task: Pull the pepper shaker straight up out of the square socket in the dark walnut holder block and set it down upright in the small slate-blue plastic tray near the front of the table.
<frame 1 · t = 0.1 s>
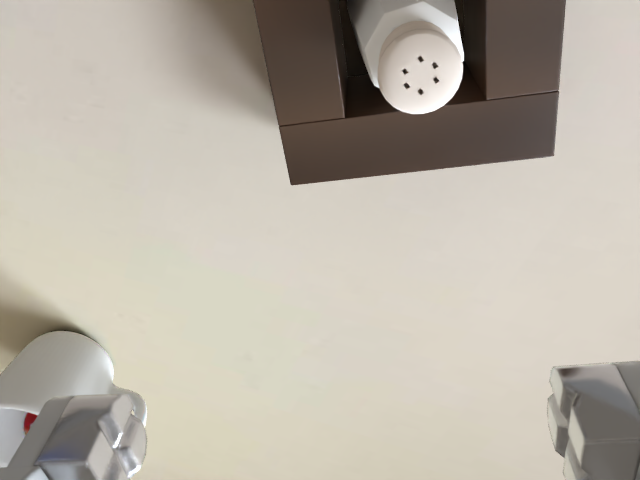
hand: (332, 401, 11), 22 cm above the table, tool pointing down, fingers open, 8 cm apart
pepper shaker: (400, 7, 28), resting in holder
cup: (95, 358, 43), on the table
holder: (400, 8, 27), on the table
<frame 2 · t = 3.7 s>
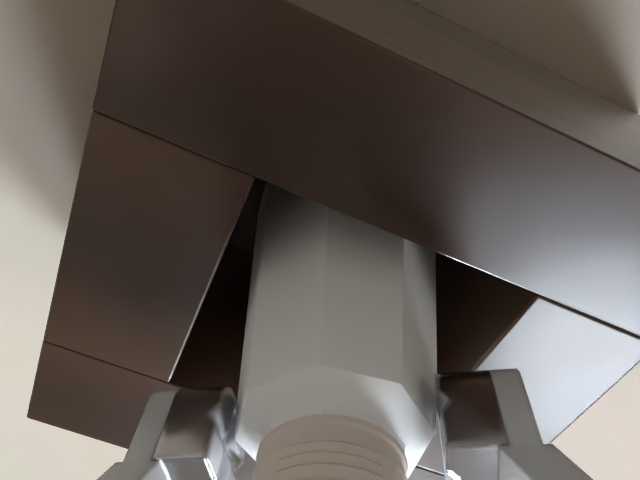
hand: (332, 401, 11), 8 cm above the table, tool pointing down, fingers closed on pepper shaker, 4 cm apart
pepper shaker: (344, 203, 17), resting in holder, touching gripper
holder: (344, 205, 17), on the table
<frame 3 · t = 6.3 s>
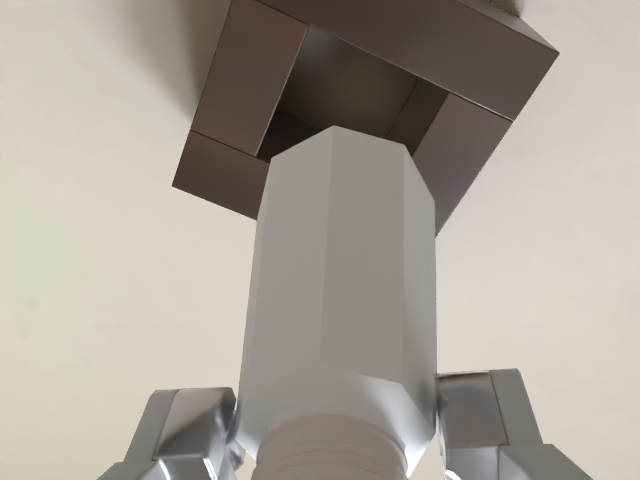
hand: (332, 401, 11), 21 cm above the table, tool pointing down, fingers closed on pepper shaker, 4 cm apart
pepper shaker: (344, 203, 17), point 13 cm above the table, touching gripper
holder: (350, 81, 28), on the table
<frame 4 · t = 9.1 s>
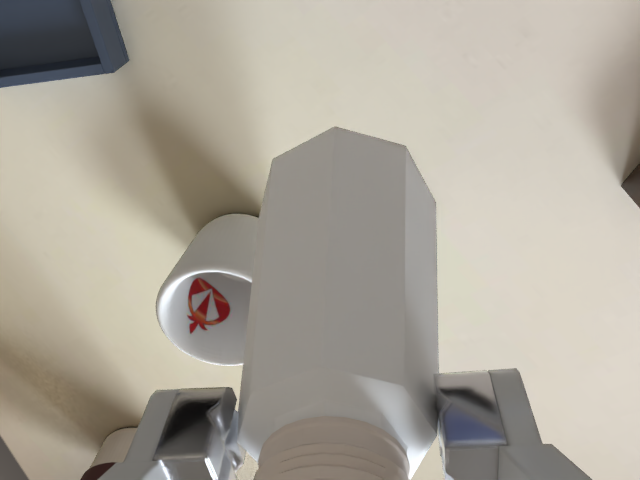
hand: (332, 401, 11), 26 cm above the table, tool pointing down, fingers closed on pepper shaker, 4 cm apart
pepper shaker: (345, 204, 17), point 18 cm above the table, touching gripper
cup: (257, 257, 41), on the table
coffee cup: (143, 448, 54), on the table
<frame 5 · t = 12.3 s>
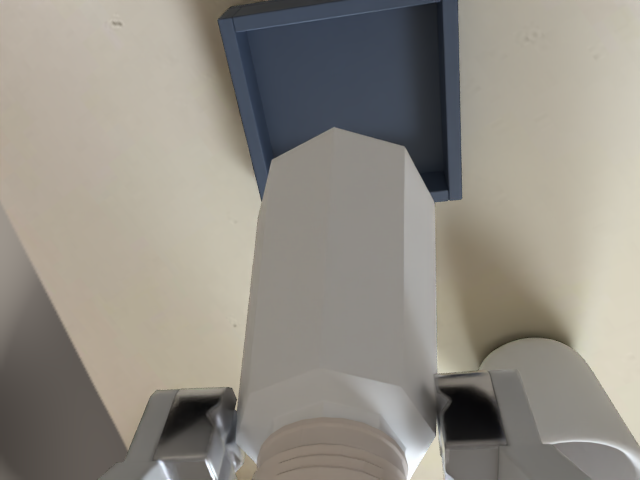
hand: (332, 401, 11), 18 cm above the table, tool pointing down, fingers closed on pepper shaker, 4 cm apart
tray: (350, 96, 26), on the table
pepper shaker: (344, 204, 17), point 10 cm above the table, touching gripper
cup: (537, 378, 35), on the table
when the fingers open (8 cm above the table, at t = 14.9 s): pepper shaker stays where it is, resting on tray.
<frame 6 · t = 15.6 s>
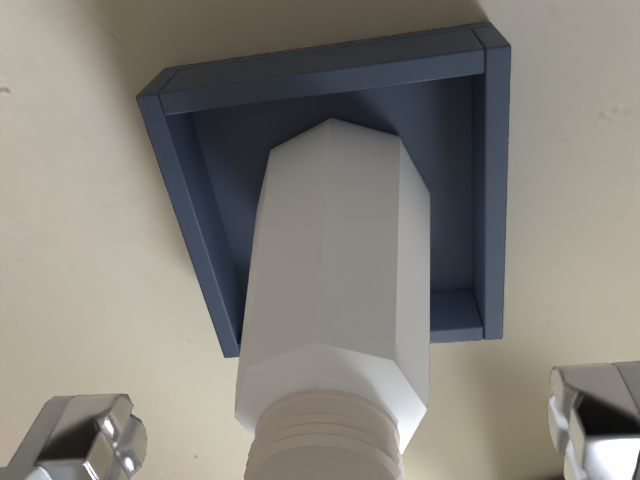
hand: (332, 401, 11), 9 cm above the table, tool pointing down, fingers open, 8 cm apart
tray: (342, 190, 18), on the table
pepper shaker: (342, 194, 18), resting on tray
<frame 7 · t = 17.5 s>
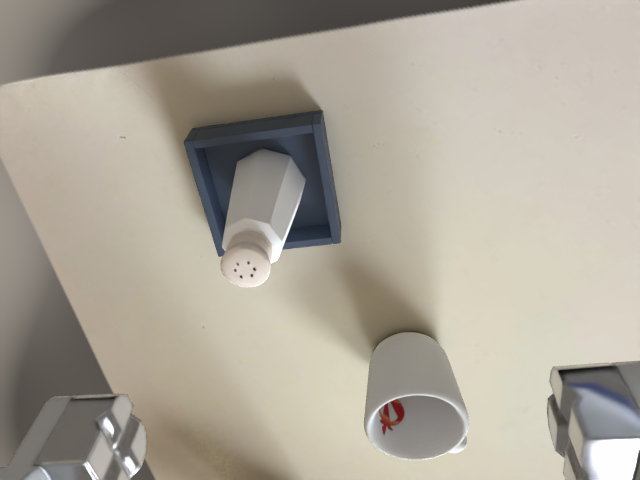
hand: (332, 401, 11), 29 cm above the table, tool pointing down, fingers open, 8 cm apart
tray: (270, 179, 41), on the table
pepper shaker: (269, 180, 40), resting on tray
cup: (416, 361, 50), on the table
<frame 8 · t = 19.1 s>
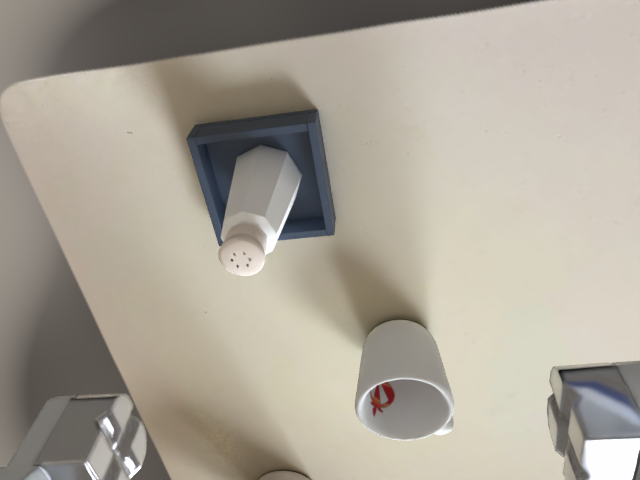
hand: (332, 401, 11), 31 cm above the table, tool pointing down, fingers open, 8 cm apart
tray: (268, 173, 43), on the table
pepper shaker: (267, 175, 43), resting on tray
cup: (408, 348, 52), on the table
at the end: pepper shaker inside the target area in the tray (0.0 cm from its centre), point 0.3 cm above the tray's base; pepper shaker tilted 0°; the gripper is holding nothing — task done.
